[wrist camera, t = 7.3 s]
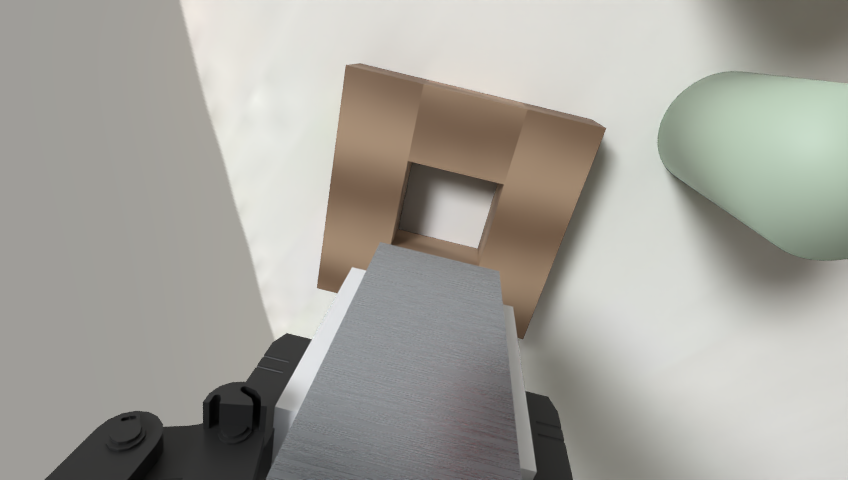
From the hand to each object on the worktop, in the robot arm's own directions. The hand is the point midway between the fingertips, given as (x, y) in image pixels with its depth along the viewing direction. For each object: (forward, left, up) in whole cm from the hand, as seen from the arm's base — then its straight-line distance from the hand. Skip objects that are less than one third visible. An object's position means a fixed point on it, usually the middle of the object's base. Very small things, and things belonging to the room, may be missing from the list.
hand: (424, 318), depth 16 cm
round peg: (+8, -14, -14) cm, 21 cm away
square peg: (0, 0, -1) cm, 1 cm away
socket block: (0, 0, -14) cm, 14 cm away
